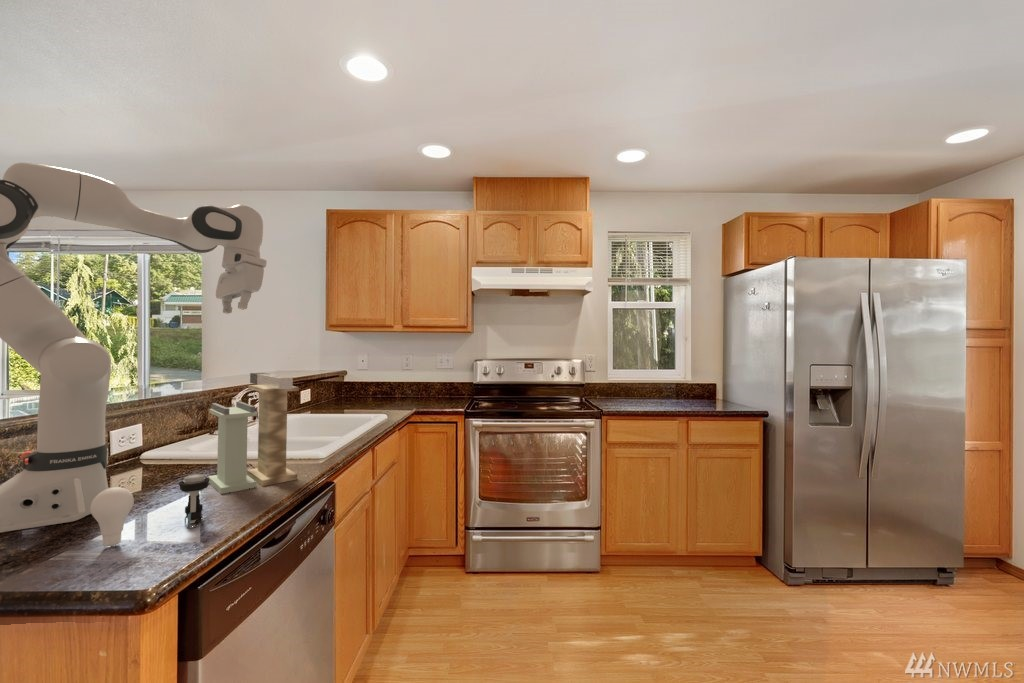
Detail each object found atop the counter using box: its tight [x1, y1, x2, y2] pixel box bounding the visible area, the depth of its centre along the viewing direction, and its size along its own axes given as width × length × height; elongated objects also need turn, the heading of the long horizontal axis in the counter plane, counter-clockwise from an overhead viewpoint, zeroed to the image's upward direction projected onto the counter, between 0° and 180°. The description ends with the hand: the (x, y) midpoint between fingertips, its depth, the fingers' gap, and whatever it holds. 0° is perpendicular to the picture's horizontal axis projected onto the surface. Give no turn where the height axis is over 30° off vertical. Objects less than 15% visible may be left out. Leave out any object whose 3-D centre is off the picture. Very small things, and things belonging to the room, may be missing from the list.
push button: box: [178, 473, 210, 529], centre depth 95 cm, size 7×5×10 cm
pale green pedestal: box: [207, 400, 258, 495], centre depth 122 cm, size 8×14×22 cm, turn 45°
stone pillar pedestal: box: [247, 384, 300, 487], centre depth 129 cm, size 9×14×26 cm, turn 45°
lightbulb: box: [90, 486, 135, 547], centre depth 84 cm, size 6×6×11 cm
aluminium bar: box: [249, 372, 294, 389], centre depth 131 cm, size 4×26×3 cm, turn 45°
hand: (234, 311), depth 125 cm, fingers open, 8 cm apart
